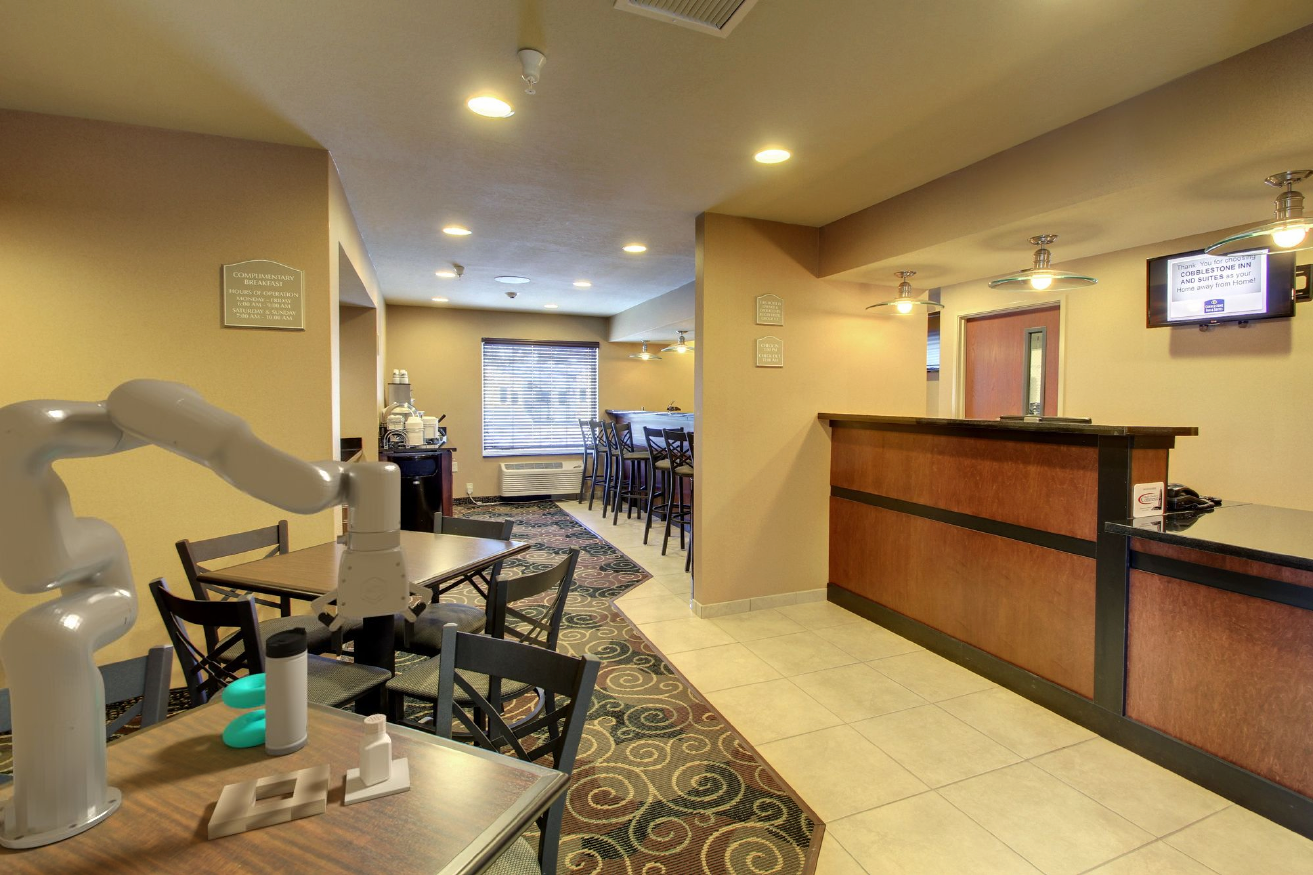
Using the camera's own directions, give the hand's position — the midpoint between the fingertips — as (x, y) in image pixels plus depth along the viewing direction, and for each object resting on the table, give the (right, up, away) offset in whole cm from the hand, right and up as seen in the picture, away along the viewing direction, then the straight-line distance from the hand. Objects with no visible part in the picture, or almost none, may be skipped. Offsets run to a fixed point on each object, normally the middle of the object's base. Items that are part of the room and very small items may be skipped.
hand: (373, 649), depth 95 cm
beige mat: (0, -21, +1) cm, 21 cm away
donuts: (-28, -21, +15) cm, 38 cm away
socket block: (-12, -21, -5) cm, 25 cm away
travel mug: (-20, -21, +11) cm, 31 cm away
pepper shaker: (0, -21, 0) cm, 21 cm away
